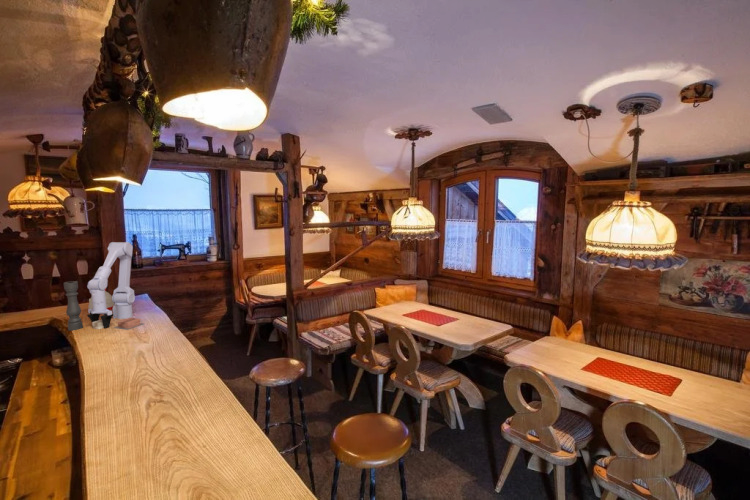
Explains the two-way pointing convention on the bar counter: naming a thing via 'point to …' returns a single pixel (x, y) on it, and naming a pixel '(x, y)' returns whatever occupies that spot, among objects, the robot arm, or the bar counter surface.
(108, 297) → the white and red dome
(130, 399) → the bar counter surface
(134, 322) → the terracotta brick
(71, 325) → the candle holder
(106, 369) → the bar counter surface
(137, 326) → the base plate
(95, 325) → the ash brick
